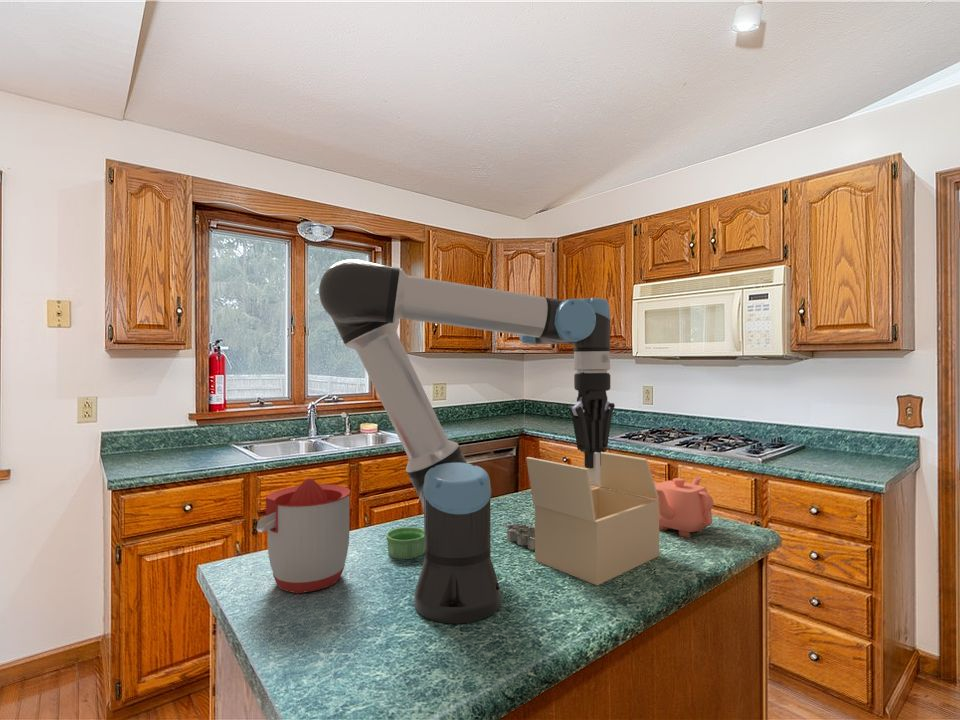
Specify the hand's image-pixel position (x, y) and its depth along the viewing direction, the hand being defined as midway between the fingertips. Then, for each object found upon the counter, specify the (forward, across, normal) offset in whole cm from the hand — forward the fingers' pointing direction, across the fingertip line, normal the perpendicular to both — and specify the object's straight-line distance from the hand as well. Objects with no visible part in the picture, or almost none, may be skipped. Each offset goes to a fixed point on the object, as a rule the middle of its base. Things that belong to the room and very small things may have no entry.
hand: (592, 482), depth 109 cm
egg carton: (+17, -2, +17) cm, 24 cm away
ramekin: (+17, -28, +30) cm, 44 cm away
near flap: (-1, -11, 0) cm, 11 cm away
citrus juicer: (+17, -50, +30) cm, 61 cm away
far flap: (0, +10, 0) cm, 10 cm away
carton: (+17, +2, 0) cm, 17 cm away
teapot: (+17, +32, -2) cm, 37 cm away
